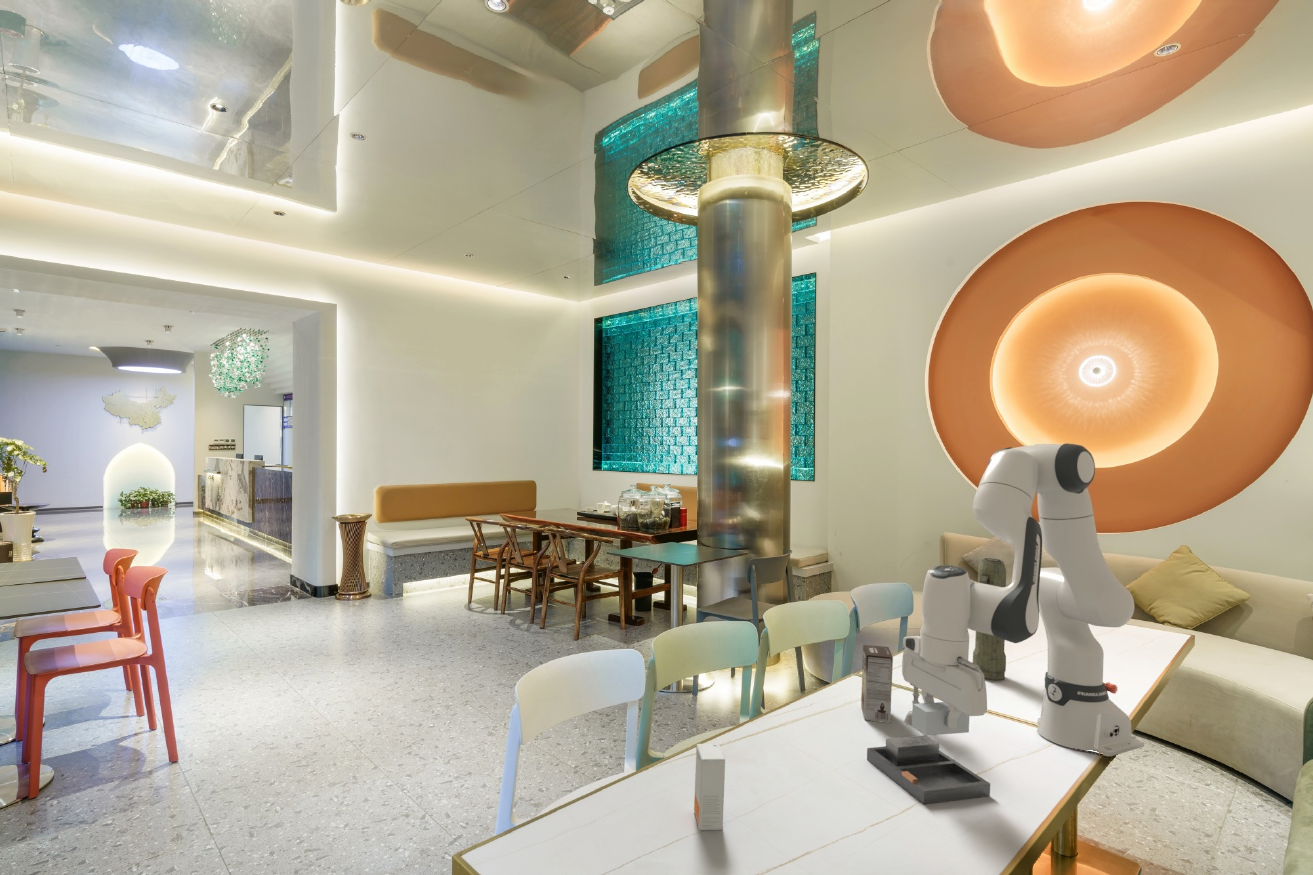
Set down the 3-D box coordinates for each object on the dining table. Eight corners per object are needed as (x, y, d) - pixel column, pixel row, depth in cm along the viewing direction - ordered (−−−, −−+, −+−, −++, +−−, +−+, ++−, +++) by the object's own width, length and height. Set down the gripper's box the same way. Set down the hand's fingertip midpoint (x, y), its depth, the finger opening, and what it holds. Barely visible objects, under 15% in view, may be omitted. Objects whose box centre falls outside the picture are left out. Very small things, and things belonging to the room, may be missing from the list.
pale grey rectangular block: (954, 723, 132) (955, 701, 133) (968, 732, 129) (969, 709, 129) (911, 726, 130) (912, 703, 130) (925, 735, 126) (926, 711, 126)
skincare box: (693, 811, 117) (696, 742, 117) (716, 811, 117) (719, 743, 117) (698, 831, 110) (701, 759, 111) (723, 830, 111) (726, 759, 111)
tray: (926, 753, 144) (927, 728, 144) (989, 795, 126) (990, 768, 127) (866, 759, 140) (867, 734, 140) (923, 804, 122) (924, 775, 122)
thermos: (1011, 675, 199) (1014, 559, 200) (998, 684, 191) (1002, 563, 192) (980, 668, 206) (983, 555, 206) (966, 676, 197) (970, 559, 198)
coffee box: (860, 706, 169) (862, 643, 170) (886, 709, 168) (888, 646, 168) (863, 720, 160) (866, 654, 161) (891, 723, 159) (894, 656, 159)
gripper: (997, 666, 120) (994, 743, 120) (923, 635, 140) (920, 700, 140) (969, 667, 119) (965, 745, 118) (897, 635, 138) (894, 702, 138)
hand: (940, 720), depth 129 cm, fingers closed on pale grey rectangular block, 4 cm apart
